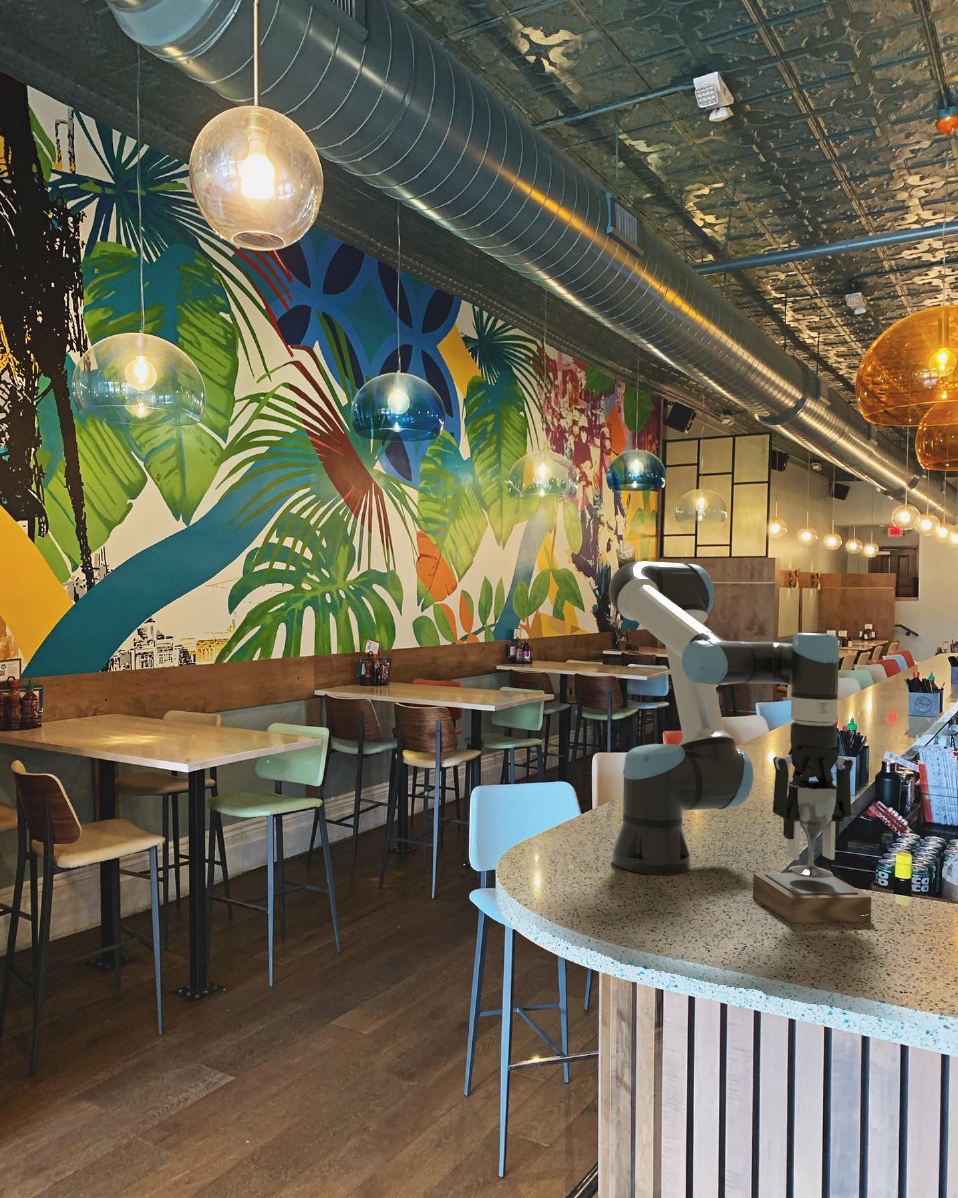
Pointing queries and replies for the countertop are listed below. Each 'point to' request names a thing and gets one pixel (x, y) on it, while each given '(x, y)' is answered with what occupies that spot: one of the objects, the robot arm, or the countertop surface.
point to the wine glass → (813, 820)
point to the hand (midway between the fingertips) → (810, 857)
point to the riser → (811, 898)
